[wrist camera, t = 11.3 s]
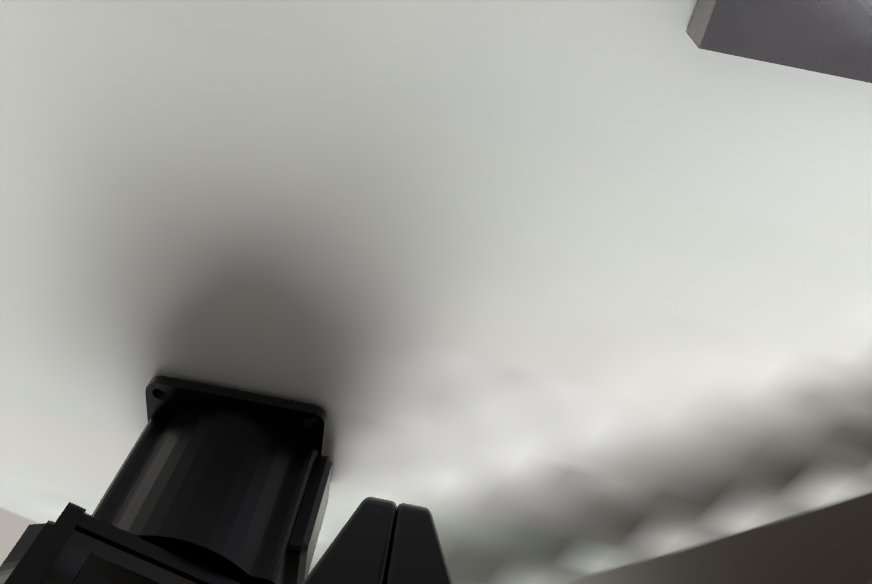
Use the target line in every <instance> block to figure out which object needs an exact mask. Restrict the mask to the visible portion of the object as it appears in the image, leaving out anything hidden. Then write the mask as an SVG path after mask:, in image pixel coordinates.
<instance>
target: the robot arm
mask: <svg viewBox="0 0 872 584" xmlns="http://www.w3.org/2000/svg"><path fill="white" fill-rule="evenodd" d="M160 389H161V390H163V391H164V392H163V391H161V390H160ZM146 403H147V416H148V424H147V425H146V427H145V429H144V430H143V432H142V434H141V435H140V437H139V438H138V440H137V442H136V443H135V445H134V447H133V448H132V450H131V452H130V453H129V455H128V457H127V458H126V460H125V461H124V463H123V465H122V466H121V468H120V470H119V471H118V473H117V475H116V476H115V478H114V480H113V481H112V483H111V485H110V486H109V488H108V489H107V491H106V493H105V494H104V496H103V498H102V499H101V501H100V503H99V504H98V506H97V508H96V509H95V511H94V512H93V514H92V515H89V514H87V513H85V511H86V509H84V508H82V507H80V506H77V505H75V504H73V503H71V502H69V503H68V505H67V506H66V508H65V509H64V511H63V512H62V513H61V515H60V516H59V518H58V519H57V521H56V522H52V521H48V522H47V523H46V524H33V525H29V526H28V528H27V529H26V530H25V532H24V533H23V535H22V536H21V538H20V539H19V541H18V542H17V543H16V545H15V547H14V548H13V549H12V551H11V552H10V554H9V555H8V557H7V558H6V559H5V561H4V562H3V564H2V565H1V567H0V584H452V581H451V577H450V574H449V571H448V567H447V564H446V561H445V557H444V554H443V551H442V547H441V544H440V541H439V537H438V534H437V531H436V527H435V524H434V521H433V517H432V514H431V512H430V511H429V509H427V508H425V507H421V506H416V505H411V504H405V503H402V504H399V506H398V507H397V506H396V504H395V503H394V502H393V501H389V500H384V499H379V498H374V497H368V498H366V499H364V500H363V501H362V502H361V504H360V505H359V507H358V508H357V509H356V511H355V512H354V513H353V515H352V516H351V517H350V519H349V520H348V522H347V523H346V524H345V526H344V527H343V528H342V530H341V531H340V533H339V534H338V535H337V537H336V538H335V539H334V541H333V542H332V543H331V545H330V546H329V548H328V549H327V550H326V552H325V553H324V554H323V556H322V557H321V559H320V560H319V561H318V563H317V564H316V565H315V567H314V568H313V570H312V571H311V572H310V574H309V575H308V572H309V569H310V565H311V561H312V558H313V554H314V550H315V547H316V543H317V540H318V536H319V532H320V529H321V525H322V521H323V518H324V514H325V511H326V507H327V502H328V495H329V487H330V479H331V471H332V461H331V460H330V458H329V457H328V456H323V450H324V441H325V432H326V424H327V414H326V412H325V411H324V410H323V409H322V408H321V407H318V406H316V405H311V404H306V403H301V402H295V401H290V400H285V399H280V398H274V397H269V396H264V395H259V394H254V393H248V392H243V391H238V390H233V389H227V388H222V387H217V386H212V385H207V384H201V383H196V382H191V381H186V380H180V379H175V378H170V377H165V376H157V377H154V378H153V379H152V380H151V381H150V383H149V384H148V386H147V387H146ZM309 418H314V419H315V420H311V419H309ZM396 509H397V510H396Z"/></svg>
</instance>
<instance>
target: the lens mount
mask: <svg viewBox="0 0 872 584" xmlns="http://www.w3.org/2000/svg"><path fill="white" fill-rule="evenodd" d="M686 32H687V34H688V35H689V36H690V38H691V39H692V40H693V41H694V43H695V44H696V45H697V46H698V48H701V49H706V50H711V51H716V52H721V53H726V54H730V55H735V56H740V57H745V58H750V59H755V60H760V61H765V62H770V63H775V64H780V65H785V66H790V67H795V68H800V69H805V70H810V71H815V72H820V73H825V74H830V75H835V76H840V77H845V78H850V79H855V80H860V81H865V82H870V83H872V0H697V3H696V6H695V9H694V11H693V14H692V17H691V20H690V23H689V26H688V28H687V31H686Z"/></svg>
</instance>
